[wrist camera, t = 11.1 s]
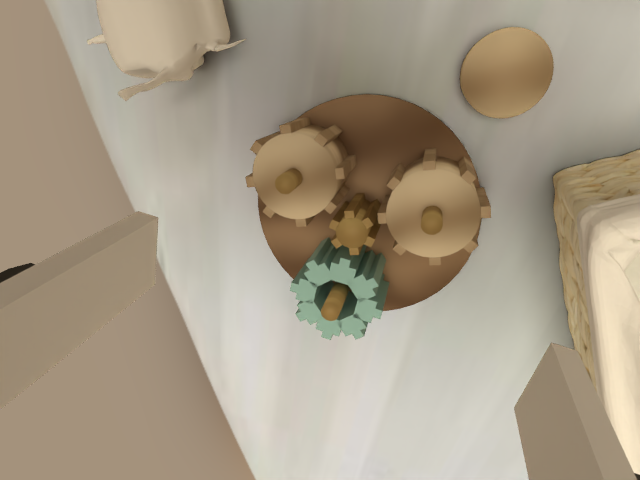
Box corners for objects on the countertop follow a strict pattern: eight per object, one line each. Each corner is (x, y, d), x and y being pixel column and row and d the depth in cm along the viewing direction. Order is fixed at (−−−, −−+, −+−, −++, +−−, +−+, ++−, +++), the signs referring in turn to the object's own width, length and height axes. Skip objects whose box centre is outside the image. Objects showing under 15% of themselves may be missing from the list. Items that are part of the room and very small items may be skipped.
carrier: (243, 110, 37) (195, 121, 30) (480, 76, 31) (492, 79, 24) (281, 306, 43) (250, 353, 36) (485, 305, 38) (495, 361, 31)
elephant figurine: (267, 75, 35) (216, 78, 28) (146, 101, 39) (70, 110, 31) (239, -58, 32) (173, -100, 24) (110, -17, 36) (16, -41, 28)
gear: (315, 224, 38) (298, 245, 34) (399, 248, 37) (394, 273, 32) (300, 296, 41) (283, 324, 37) (377, 320, 40) (369, 353, 35)
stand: (458, 38, 31) (460, 35, 28) (544, 23, 29) (555, 19, 27) (461, 118, 33) (462, 123, 30) (542, 108, 31) (552, 112, 29)
